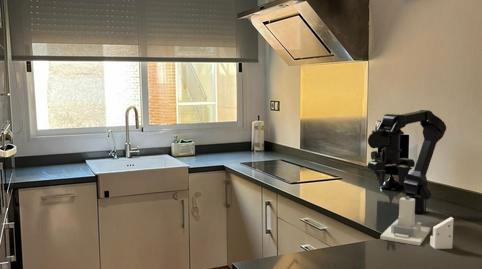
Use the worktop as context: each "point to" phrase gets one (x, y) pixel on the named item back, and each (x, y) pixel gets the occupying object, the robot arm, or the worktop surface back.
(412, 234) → the rail mount
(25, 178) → the worktop surface
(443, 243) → the white angled block
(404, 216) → the block
